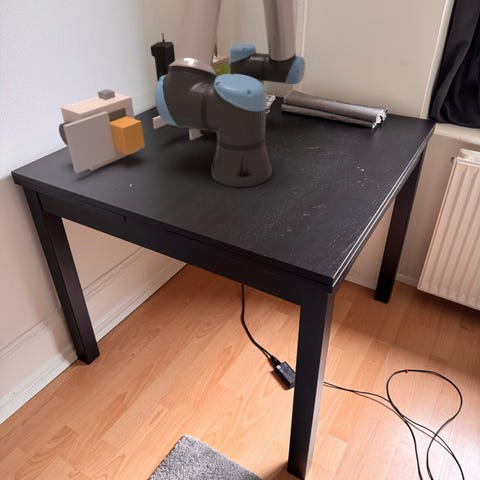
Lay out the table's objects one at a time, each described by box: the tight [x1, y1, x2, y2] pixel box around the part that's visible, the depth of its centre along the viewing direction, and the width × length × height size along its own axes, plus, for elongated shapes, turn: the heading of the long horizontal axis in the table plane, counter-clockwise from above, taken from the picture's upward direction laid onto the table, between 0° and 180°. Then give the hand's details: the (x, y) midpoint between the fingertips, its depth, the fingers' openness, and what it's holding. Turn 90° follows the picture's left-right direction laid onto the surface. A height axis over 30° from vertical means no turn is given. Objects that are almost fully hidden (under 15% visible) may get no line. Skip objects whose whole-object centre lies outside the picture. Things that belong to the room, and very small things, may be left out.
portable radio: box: [150, 32, 176, 116], centre depth 142 cm, size 8×6×25 cm
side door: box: [63, 112, 146, 174], centre depth 113 cm, size 6×18×12 cm, turn 142°
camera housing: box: [58, 89, 140, 171], centre depth 119 cm, size 9×18×16 cm, turn 142°
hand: (171, 129), depth 120 cm, fingers open, 13 cm apart
